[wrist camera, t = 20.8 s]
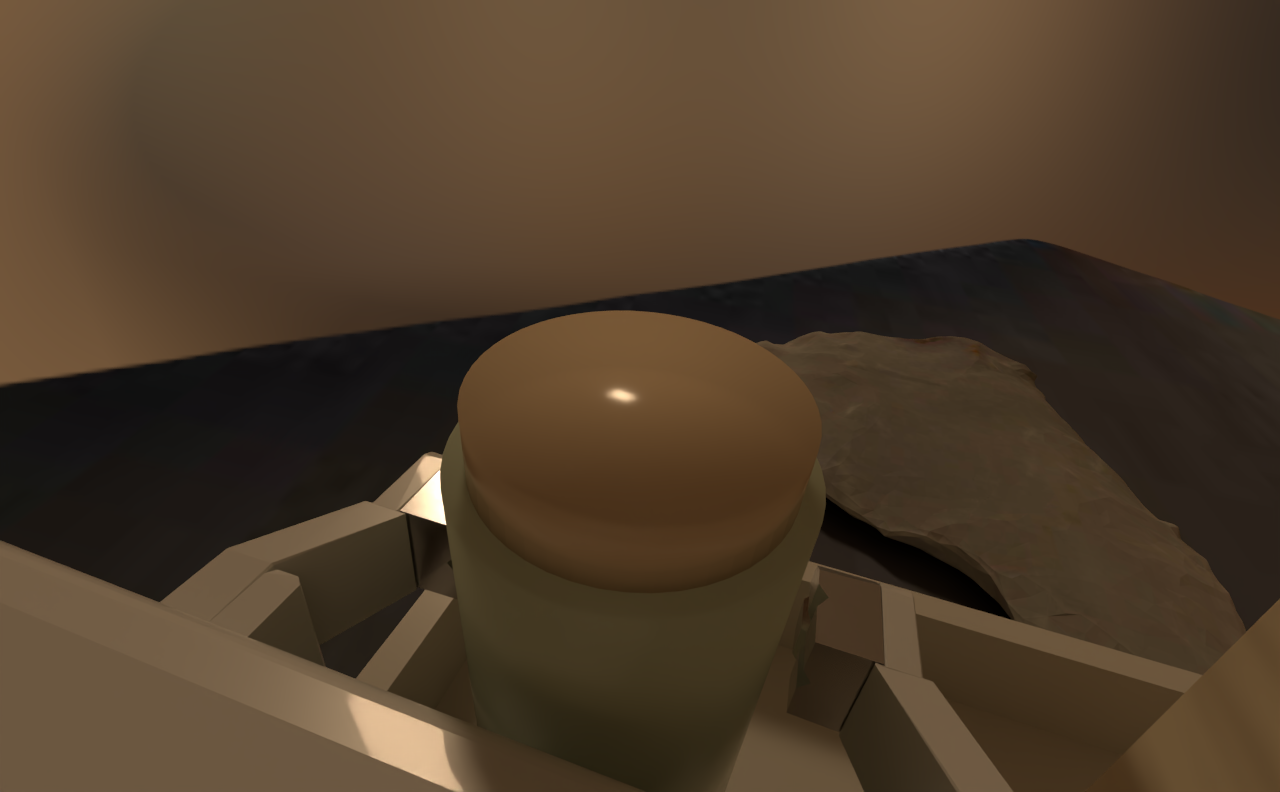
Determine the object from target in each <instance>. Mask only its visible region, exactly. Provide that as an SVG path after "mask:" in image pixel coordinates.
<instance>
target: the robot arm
mask: <svg viewBox="0 0 1280 792" xmlns="http://www.w3.org/2000/svg"><path fill="white" fill-rule="evenodd" d="M442 456H443V455H440V454H437V453H434V452H430V453H427V454H424V455H423V456H422V457H421V458H420V459H419V460H418V461H417V462H416V463H414V464H413V465H412V466H411V467H410V468H409V469H408V470H407V471H406V472H405V473H404V474H403V475H402V476H401V477H400V478H399V479H398V480H397V481H395V482H394V483H393V484H392V485H391V486H390V487H389V488H388V489H387V490H386V491H385V492H384V493H383V494H382V495H381V496H380V497H379V498H377V499H376V500H375V501H374V502H373V503H370V502H367V501H364V502H361V503H359V504H356V505H353V506H350V507H347V508H344V509H341V510H338V511H335V512H332V513H329V514H326V515H324V516H321V517H318V518H315V519H312V520H309V521H306V522H303V523H300V524H297V525H294V526H291V527H289V528H286V529H283V530H280V531H277V532H274V533H271V534H268V535H265V536H262V537H259V538H256V539H253V540H251V541H248V542H245V543H242V544H239V545H236V546H233V547H230V548H227V549H226V550H225V551H223V552H222V553H221V554H220V555H218V556H217V557H216V558H215V559H213V560H212V561H211V562H210V563H208V564H207V565H206V566H205V567H203V568H202V569H201V570H200V571H198V572H197V573H196V574H195V575H193V576H192V577H191V578H190V579H188V580H187V581H186V582H185V583H183V584H182V585H181V586H180V587H178V588H177V589H176V590H175V591H173V592H172V593H171V594H170V595H168V596H167V597H166V598H165V599H163V600H162V601H161V602H160V603H159V602H157V601H154V600H152V599H149V598H146V597H144V596H141V595H139V594H136V593H134V592H131V591H128V590H126V589H123V588H121V587H118V586H116V585H113V584H111V583H108V582H105V581H103V580H100V579H98V578H95V577H93V576H90V575H87V574H85V573H82V572H80V571H77V570H75V569H72V568H69V567H67V566H64V565H62V564H59V563H57V562H54V561H52V560H49V559H46V558H44V557H41V556H39V555H36V554H34V553H31V552H28V551H26V550H23V549H21V548H18V547H16V546H13V545H10V544H8V543H5V542H3V541H0V792H646V791H643V790H641V789H638V788H635V787H633V786H630V785H628V784H625V783H623V782H620V781H617V780H615V779H612V778H610V777H607V776H605V775H602V774H599V773H597V772H594V771H592V770H589V769H587V768H584V767H581V766H579V765H576V764H574V763H571V762H569V761H566V760H563V759H561V758H558V757H556V756H553V755H550V754H548V753H545V752H543V751H540V750H538V749H535V748H532V747H530V746H527V745H525V744H522V743H519V742H517V741H514V740H512V739H509V738H507V737H504V736H501V735H499V734H496V733H494V732H491V731H489V730H486V729H483V728H481V727H478V726H476V725H473V724H470V723H468V722H465V721H463V720H460V719H458V718H455V717H452V716H450V715H447V714H445V713H442V712H439V711H437V710H434V709H432V708H429V707H427V706H424V705H421V704H419V703H416V702H414V701H411V700H409V699H406V698H403V697H401V696H398V695H396V694H393V693H391V692H388V691H385V690H383V689H380V688H378V687H375V686H373V685H370V684H367V683H365V682H362V681H360V680H357V679H355V678H352V677H349V676H347V675H344V674H342V673H339V672H337V671H334V670H331V669H329V668H326V665H325V662H324V659H323V655H322V652H321V649H320V646H319V645H320V644H322V643H324V642H326V641H327V640H329V639H331V638H333V637H334V636H336V635H338V634H340V633H341V632H343V631H345V630H347V629H348V628H350V627H352V626H354V625H355V624H357V623H359V622H361V621H362V620H364V619H366V618H368V617H369V616H371V615H373V614H375V613H376V612H378V611H380V610H382V609H383V608H385V607H387V606H389V605H390V604H392V603H394V602H396V601H397V600H399V599H401V598H403V597H404V596H406V595H408V594H410V593H411V592H413V591H415V590H416V589H417V588H416V587H419V588H422V589H425V590H428V591H432V592H435V593H438V594H441V595H444V596H448V597H451V598H454V599H457V592H456V586H455V579H454V573H453V566H452V560H451V553H450V547H449V541H448V534H447V528H446V521H445V515H444V508H443V502H442V495H441V488H440V468H441V462H442ZM457 600H458V599H457ZM792 654H793V655H794V657H795V659H796V661H795V664H794V666H793V669H792V672H791V674H790V680H789V691H788V701H787V712H786V713H788V714H791V715H794V716H797V717H799V718H802V719H805V720H807V721H810V722H813V723H815V724H818V725H821V726H823V727H826V728H829V729H831V730H834V731H837V732H839V737H840V739H841V742H842V744H843V746H844V748H845V750H846V753H847V755H848V757H849V759H850V762H851V764H852V766H853V768H854V770H855V773H856V775H857V777H858V779H859V782H860V784H861V786H862V788H863V790H864V792H1013V790H1012V789H1011V788H1010V786H1009V785H1008V784H1007V782H1006V781H1005V779H1004V778H1003V777H1002V775H1001V774H1000V773H999V771H998V770H997V769H996V767H995V766H994V764H993V763H992V762H991V760H990V759H989V758H988V756H987V755H986V753H985V752H984V751H983V749H982V748H981V747H980V745H979V744H978V742H977V741H976V740H975V738H974V737H973V736H972V734H971V733H970V731H969V730H968V729H967V727H966V726H965V725H964V723H963V722H962V721H961V719H960V718H959V716H958V715H957V714H956V712H955V711H954V710H953V708H952V707H951V705H950V704H949V703H948V701H947V700H946V699H945V697H944V696H943V694H942V693H941V692H940V690H939V689H938V688H937V686H936V685H935V683H934V682H933V681H930V680H927V679H924V678H923V672H922V663H921V655H920V646H919V637H918V629H917V620H916V611H915V603H914V596H913V595H912V593H911V592H910V591H907V590H904V589H900V588H896V587H893V586H889V585H886V584H882V583H877V582H874V581H871V580H867V579H864V578H860V577H857V576H853V575H849V574H846V573H842V572H839V571H835V570H832V569H828V568H825V567H821V566H817V568H816V569H815V571H814V574H813V576H812V579H811V583H810V594H809V597H807V598H805V599H804V601H803V603H802V606H801V609H800V612H799V616H798V620H797V624H796V628H795V635H794V641H793V650H792Z"/></svg>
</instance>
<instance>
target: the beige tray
mask: <svg viewBox="0 0 1280 792" xmlns="http://www.w3.org/2000/svg"><path fill="white" fill-rule="evenodd" d="M817 566H821V567H825V568H828V569H832V570H835V571H839V572H842V573H846V574H849V575H853V576H857V577H860V578H864V579H867V580H871V581H874V582H877V583H882V582H879V581H875V580H872V579H868V578H865V577H862V576H858V575H855V574H851V573H848V572H844V571H841V570H837V569H834V568H830V567H827V566H823V565H820V564H817V563H813V562H810V561H809V562H808V564H807V567H806V570H805V573H804V575H803V578H802V581H801V584H800V586H799V589H798V592H797V595H796V597H795V600H794V603H793V606H792V608H791V611H790V614H789V617H788V619H787V622H786V625H785V628H784V630H783V633H782V636H781V639H780V641H779V644H778V647H777V650H776V652H775V655H774V658H773V661H772V663H771V666H770V669H769V672H768V675H767V677H766V680H765V683H764V686H763V688H762V691H761V694H760V697H759V699H758V702H757V705H756V708H755V710H754V713H753V716H752V719H751V721H750V724H749V727H748V730H747V732H746V735H745V738H744V741H743V743H742V746H741V749H740V752H739V754H738V757H737V760H736V763H735V765H734V768H733V771H732V774H731V776H730V779H729V782H728V785H727V787H726V790H725V792H864V790H863V788H862V786H861V784H860V782H859V779H858V777H857V775H856V773H855V770H854V768H853V766H852V764H851V762H850V759H849V757H848V755H847V753H846V750H845V748H844V746H843V744H842V742H841V739H840V737H839V732H837V731H834V730H831V729H829V728H826V727H823V726H821V725H818V724H815V723H813V722H810V721H807V720H805V719H802V718H799V717H797V716H794V715H791V714H788V713H786V712H787V701H788V691H789V680H790V674H791V672H792V669H793V666H794V664H795V661H796V659H795V657H794V655H793V654H792V650H793V641H794V635H795V628H796V624H797V620H798V616H799V612H800V609H801V606H802V603H803V601H804V599H805V598H807V597H809V594H810V583H811V579H812V576H813V574H814V571H815V569H816V568H817ZM882 584H886V583H882ZM886 585H889V584H886ZM889 586H893V585H889ZM893 587H896V586H893ZM896 588H900V587H896ZM900 589H903V588H900ZM904 590H906V589H904ZM907 591H910V590H907ZM910 592H911V593H912V595H913V596H914V603H915V611H916V620H917V629H918V637H919V646H920V655H921V663H922V672H923V678H924V679H927V680H930V681H933V682H934V683H935V685H936V686H937V688H938V689H939V690H940V692H941V693H942V694H943V696H944V697H945V699H946V700H947V701H948V703H949V704H950V705H951V707H952V708H953V710H954V711H955V712H956V714H957V715H958V716H959V718H960V719H961V721H962V722H963V723H964V725H965V726H966V727H967V729H968V730H969V731H970V733H971V734H972V736H973V737H974V738H975V740H976V741H977V742H978V744H979V745H980V747H981V748H982V749H983V751H984V752H985V753H986V755H987V756H988V758H989V759H990V760H991V762H992V763H993V764H994V766H995V767H996V769H997V770H998V771H999V773H1000V774H1001V775H1002V777H1003V778H1004V779H1005V781H1006V782H1007V784H1008V785H1009V786H1010V788H1011V789H1012V790H1013V792H1085V791H1086V790H1087V789H1088V788H1089V787H1090V786H1091V785H1092V784H1093V783H1094V782H1095V781H1097V780H1098V779H1099V778H1100V777H1101V776H1102V775H1103V774H1104V773H1105V772H1106V771H1107V770H1108V769H1109V768H1110V767H1111V766H1112V765H1113V764H1114V763H1115V762H1116V761H1117V760H1118V759H1119V758H1120V757H1121V756H1122V755H1123V754H1124V753H1125V752H1126V751H1127V750H1128V749H1129V748H1130V747H1131V746H1132V745H1133V744H1134V743H1135V742H1136V741H1137V740H1138V739H1139V738H1140V737H1141V736H1142V735H1143V734H1144V733H1145V732H1146V731H1147V730H1148V729H1149V728H1150V727H1151V726H1152V725H1153V724H1154V723H1155V722H1156V721H1157V720H1158V719H1159V718H1160V717H1161V716H1162V715H1163V714H1164V713H1165V712H1166V711H1167V710H1168V709H1169V708H1170V707H1171V706H1172V705H1173V704H1174V703H1175V702H1176V701H1177V700H1178V699H1179V698H1180V697H1181V696H1182V695H1183V694H1184V693H1185V692H1186V691H1187V690H1188V689H1189V688H1190V687H1191V686H1192V685H1193V684H1194V683H1195V682H1196V681H1197V680H1198V679H1199V678H1200V677H1201V676H1202V675H1200V674H1197V673H1194V672H1190V671H1187V670H1183V669H1180V668H1176V667H1173V666H1169V665H1166V664H1162V663H1159V662H1155V661H1152V660H1149V659H1145V658H1142V657H1138V656H1135V655H1131V654H1128V653H1124V652H1121V651H1117V650H1114V649H1111V648H1107V647H1104V646H1100V645H1097V644H1093V643H1090V642H1086V641H1083V640H1079V639H1076V638H1072V637H1069V636H1066V635H1062V634H1059V633H1055V632H1052V631H1048V630H1045V629H1041V628H1038V627H1034V626H1031V625H1028V624H1024V623H1021V622H1017V621H1014V620H1010V619H1007V618H1003V617H1000V616H996V615H993V614H989V613H986V612H983V611H979V610H976V609H972V608H969V607H965V606H962V605H958V604H955V603H951V602H948V601H945V600H941V599H938V598H934V597H931V596H927V595H924V594H920V593H917V592H913V591H910ZM356 679H357V680H360V681H362V682H365V683H367V684H370V685H373V686H375V687H378V688H380V689H383V690H385V691H388V692H391V693H393V694H396V695H398V696H401V697H403V698H406V699H409V700H411V701H414V702H416V703H419V704H421V705H424V706H427V707H429V708H432V709H434V710H437V711H439V712H442V713H445V714H447V715H450V716H452V717H455V718H458V719H460V720H463V721H465V722H468V723H470V724H473V725H476V726H477V722H476V715H475V709H474V702H473V696H472V690H471V683H470V677H469V670H468V664H467V657H466V651H465V644H464V638H463V631H462V625H461V618H460V612H459V605H458V600H457V599H454V598H451V597H448V596H444V595H441V594H438V593H435V592H432V591H428V590H425V591H424V592H423V593H422V595H421V596H420V597H419V599H418V600H417V601H416V602H415V604H414V605H413V606H412V608H411V609H410V610H409V611H408V613H407V614H406V615H405V617H404V618H403V619H402V620H401V622H400V623H399V624H398V625H397V627H396V628H395V629H394V631H393V632H392V633H391V634H390V636H389V637H388V638H387V640H386V641H385V642H384V643H383V645H382V646H381V647H380V649H379V650H378V651H377V652H376V654H375V655H374V656H373V657H372V659H371V660H370V661H369V663H368V664H367V665H366V666H365V668H364V669H363V670H362V672H361V673H360V674H359V675H358V677H357V678H356Z"/></svg>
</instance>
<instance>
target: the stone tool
mask: <svg viewBox="0 0 1280 792" xmlns="http://www.w3.org/2000/svg"><path fill="white" fill-rule="evenodd" d="M756 344H758V345H759V346H761V347H763V348H764V349H766V350H768V351H769V352H771V353H772V354H773V355H775V356H776V357H778V358H779V359H780V360H782V361H783V362H784V363H785V364H786V365H787V366H789V367H790V368H791V369H792V370H793V371H794V372H795V373H796V374H797V375H798V376H799V378H800V379H801V380H802V381H803V382H804V383H805V385H806V386H807V388H808V389H809V391H810V392H811V394H812V395H813V398H814V400H815V402H816V404H817V407H818V409H819V413H820V418H821V422H822V438H821V442H820V447H819V451H818V454H817V459H818V462H819V464H820V467H821V469H822V473H823V477H824V482H825V487H826V497H827V498H828V499H829V500H831V501H832V502H833V503H835V504H836V505H837V506H839V507H840V508H842V509H843V510H844V511H846V512H847V513H848V514H850V515H851V516H852V517H854V518H857V519H859V520H861V521H864V522H866V523H867V524H869V525H871V526H873V527H875V528H876V529H877V530H878V531H879V532H880V533H882V534H883V535H884V536H885V537H888V538H891V539H894V540H897V541H900V542H903V543H905V544H908V545H911V546H914V547H916V548H919V549H921V550H923V551H925V552H926V553H928V554H929V555H931V556H933V557H935V558H937V559H939V560H941V561H943V562H945V563H947V564H949V565H951V566H952V567H954V568H956V569H958V570H960V571H961V572H963V573H964V574H965V575H967V576H968V577H970V578H971V579H973V580H974V581H975V582H976V583H977V584H978V585H979V586H980V587H981V588H983V589H984V590H985V591H986V592H987V593H988V594H989V595H990V596H991V597H993V598H994V599H995V600H996V601H997V602H998V603H999V604H1000V605H1001V607H1002V608H1003V609H1004V610H1005V612H1006V613H1007V614H1008V615H1009V617H1010V618H1011V619H1012V620H1014V621H1017V622H1021V623H1024V624H1028V625H1031V626H1034V627H1038V628H1041V629H1045V630H1048V631H1052V632H1055V633H1059V634H1062V635H1066V636H1069V637H1072V638H1076V639H1079V640H1083V641H1086V642H1090V643H1093V644H1097V645H1100V646H1104V647H1107V648H1111V649H1114V650H1117V651H1121V652H1124V653H1128V654H1131V655H1135V656H1138V657H1142V658H1145V659H1149V660H1152V661H1155V662H1159V663H1162V664H1166V665H1169V666H1173V667H1176V668H1180V669H1183V670H1187V671H1190V672H1194V673H1197V674H1200V675H1203V674H1204V673H1205V672H1206V671H1207V670H1208V669H1209V668H1211V667H1212V666H1213V665H1214V664H1215V663H1216V662H1217V661H1218V660H1219V659H1220V658H1221V657H1222V656H1223V655H1224V654H1225V653H1226V652H1227V651H1228V650H1229V649H1230V648H1231V647H1232V646H1233V645H1234V644H1235V643H1236V642H1237V641H1238V640H1239V639H1240V638H1241V637H1242V636H1243V635H1244V634H1245V633H1246V630H1245V627H1244V624H1243V622H1242V620H1241V619H1240V617H1239V615H1238V614H1237V612H1236V609H1235V607H1234V604H1233V602H1232V599H1231V597H1230V595H1229V593H1228V592H1227V591H1226V590H1225V589H1224V587H1223V586H1222V585H1221V584H1220V583H1219V582H1218V580H1217V579H1216V577H1215V576H1214V575H1213V573H1212V571H1211V569H1210V567H1209V564H1208V562H1207V560H1206V559H1204V558H1203V557H1202V556H1201V555H1199V554H1198V553H1197V552H1195V551H1194V550H1193V549H1192V548H1190V547H1189V546H1188V545H1186V544H1185V543H1184V542H1183V541H1181V537H1180V533H1179V528H1178V527H1177V526H1175V525H1174V524H1171V523H1167V522H1164V521H1160V520H1158V519H1157V518H1156V517H1155V516H1154V515H1153V514H1151V513H1150V512H1149V511H1148V510H1147V509H1146V508H1145V507H1144V506H1143V504H1142V503H1141V502H1140V501H1139V500H1138V499H1137V497H1136V496H1135V495H1134V494H1133V493H1132V491H1131V490H1130V489H1129V488H1128V486H1127V485H1126V483H1125V482H1124V481H1123V480H1122V479H1121V478H1120V477H1119V476H1118V475H1117V474H1116V473H1115V472H1114V471H1113V470H1112V469H1111V468H1110V467H1109V466H1108V465H1107V464H1106V463H1105V462H1104V461H1103V460H1102V459H1101V458H1100V457H1099V456H1098V455H1097V454H1096V453H1095V452H1094V451H1092V450H1091V449H1090V448H1089V447H1087V446H1086V445H1085V443H1084V442H1083V440H1082V439H1081V438H1080V436H1079V435H1078V434H1077V433H1076V432H1075V431H1074V430H1073V429H1072V428H1071V427H1070V426H1069V424H1068V423H1066V422H1065V421H1064V420H1063V419H1062V418H1061V417H1060V416H1059V415H1058V414H1057V413H1056V411H1055V410H1054V409H1053V408H1052V407H1051V406H1050V405H1049V404H1048V403H1047V402H1046V401H1045V396H1044V395H1043V393H1041V392H1040V391H1039V390H1038V389H1037V388H1036V386H1035V384H1034V381H1035V379H1036V378H1037V375H1035V374H1034V373H1032V372H1031V371H1030V370H1029V369H1028V368H1027V367H1026V366H1025V364H1020V363H1018V362H1016V361H1013V360H1011V359H1009V358H1006V357H1004V356H1002V355H1000V354H998V353H997V352H995V351H993V350H991V349H989V348H988V347H986V346H985V345H983V344H982V343H979V342H977V341H974V340H971V339H968V338H961V337H934V338H928V339H903V338H892V337H885V336H879V335H874V334H869V333H865V332H852V333H850V332H844V333H835V334H828V333H824V332H813V333H810V334H806V335H804V336H801V337H799V338H797V339H795V340H792V341H790V342H788V343H786V344H784V345H778V344H772V343H770V342H768V341H762V342H758V343H756Z"/></svg>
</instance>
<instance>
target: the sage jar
mask: <svg viewBox="0 0 1280 792" xmlns="http://www.w3.org/2000/svg"><path fill="white" fill-rule="evenodd" d="M457 406H458V420H459V422H458V423H457V425H456V427H455V428H454V430H453V432H452V433H451V435H450V437H449V439H448V442H447V444H446V447H445V449H444V452H443V456H442V462H441V468H440V488H441V495H442V502H443V508H444V515H445V521H446V528H447V534H448V541H449V547H450V553H451V560H452V566H453V573H454V579H455V586H456V592H457V599H458V605H459V612H460V618H461V625H462V631H463V638H464V644H465V651H466V657H467V664H468V670H469V677H470V683H471V690H472V696H473V702H474V709H475V715H476V722H477V726H478V727H481V728H483V729H486V730H489V731H491V732H494V733H496V734H499V735H501V736H504V737H507V738H509V739H512V740H514V741H517V742H519V743H522V744H525V745H527V746H530V747H532V748H535V749H538V750H540V751H543V752H545V753H548V754H550V755H553V756H556V757H558V758H561V759H563V760H566V761H569V762H571V763H574V764H576V765H579V766H581V767H584V768H587V769H589V770H592V771H594V772H597V773H599V774H602V775H605V776H607V777H610V778H612V779H615V780H617V781H620V782H623V783H625V784H628V785H630V786H633V787H635V788H638V789H641V790H643V791H646V792H725V790H726V787H727V785H728V782H729V779H730V776H731V774H732V771H733V768H734V765H735V763H736V760H737V757H738V754H739V752H740V749H741V746H742V743H743V741H744V738H745V735H746V732H747V730H748V727H749V724H750V721H751V719H752V716H753V713H754V710H755V708H756V705H757V702H758V699H759V697H760V694H761V691H762V688H763V686H764V683H765V680H766V677H767V675H768V672H769V669H770V666H771V663H772V661H773V658H774V655H775V652H776V650H777V647H778V644H779V641H780V639H781V636H782V633H783V630H784V628H785V625H786V622H787V619H788V617H789V614H790V611H791V608H792V606H793V603H794V600H795V597H796V595H797V592H798V589H799V586H800V584H801V581H802V578H803V575H804V573H805V570H806V567H807V564H808V562H809V559H810V556H811V553H812V551H813V548H814V545H815V542H816V540H817V537H818V534H819V531H820V529H821V526H822V523H823V518H824V513H825V507H826V487H825V482H824V477H823V473H822V469H821V467H820V464H819V462H818V459H817V454H818V451H819V447H820V442H821V438H822V422H821V418H820V413H819V409H818V407H817V404H816V402H815V400H814V398H813V395H812V394H811V392H810V391H809V389H808V388H807V386H806V385H805V383H804V382H803V381H802V380H801V379H800V378H799V376H798V375H797V374H796V373H795V372H794V371H793V370H792V369H791V368H790V367H789V366H787V365H786V364H785V363H784V362H783V361H782V360H780V359H779V358H778V357H776V356H775V355H773V354H772V353H771V352H769V351H768V350H766V349H764V348H763V347H761V346H759V345H758V344H756V343H754V342H752V341H750V340H748V339H746V338H744V337H742V336H740V335H738V334H735V333H733V332H730V331H728V330H725V329H723V328H720V327H717V326H714V325H711V324H708V323H704V322H701V321H697V320H693V319H689V318H685V317H679V316H674V315H668V314H661V313H653V312H641V311H599V312H588V313H580V314H573V315H568V316H563V317H558V318H554V319H550V320H547V321H543V322H540V323H537V324H534V325H531V326H529V327H526V328H523V329H521V330H519V331H517V332H515V333H513V334H511V335H509V336H507V337H505V338H504V339H502V340H501V341H499V342H497V343H496V344H494V345H493V346H492V347H491V348H489V349H488V350H487V351H486V352H484V353H483V354H482V355H481V356H480V357H479V358H478V360H477V361H476V362H475V363H474V364H473V365H472V367H471V368H470V370H469V371H468V373H467V374H466V376H465V378H464V380H463V383H462V385H461V388H460V391H459V397H458V403H457Z"/></svg>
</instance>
